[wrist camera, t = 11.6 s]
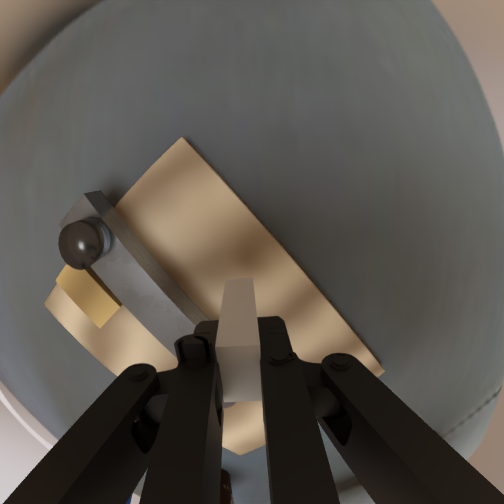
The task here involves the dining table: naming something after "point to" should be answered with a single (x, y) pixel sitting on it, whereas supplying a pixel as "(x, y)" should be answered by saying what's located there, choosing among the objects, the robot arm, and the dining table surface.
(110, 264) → the swing bar
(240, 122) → the dining table surface
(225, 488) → the coffee mug
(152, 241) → the door board
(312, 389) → the robot arm
